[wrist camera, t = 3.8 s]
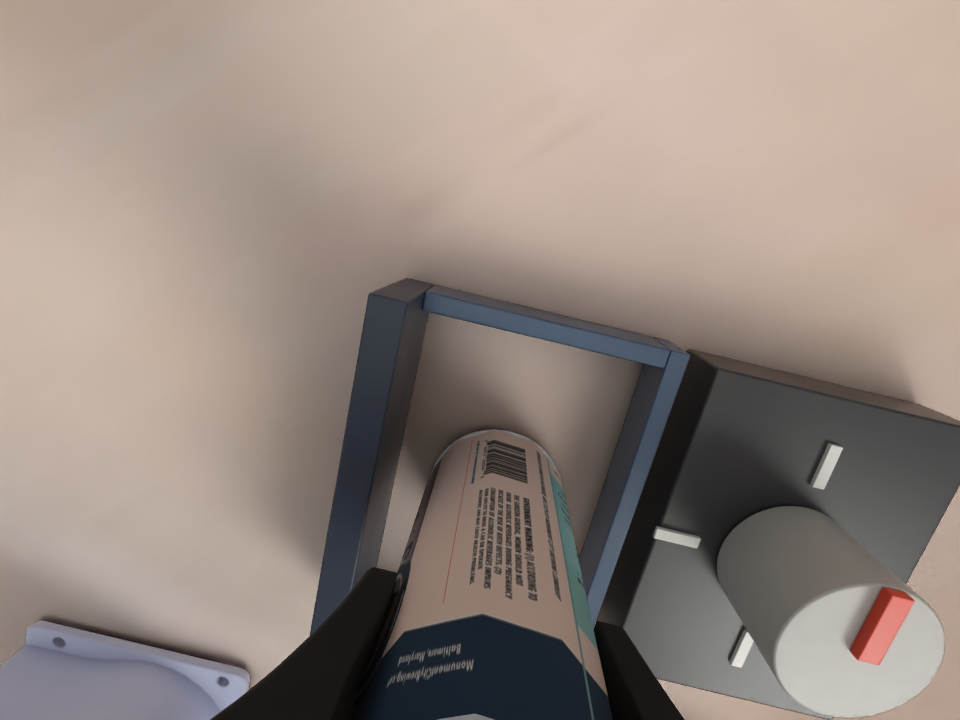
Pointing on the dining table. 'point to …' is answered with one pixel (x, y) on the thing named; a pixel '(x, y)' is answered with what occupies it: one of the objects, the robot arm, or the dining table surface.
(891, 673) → the dial
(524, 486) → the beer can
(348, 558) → the bin
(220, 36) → the dining table surface
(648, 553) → the panel
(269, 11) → the dining table surface
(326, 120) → the dining table surface
